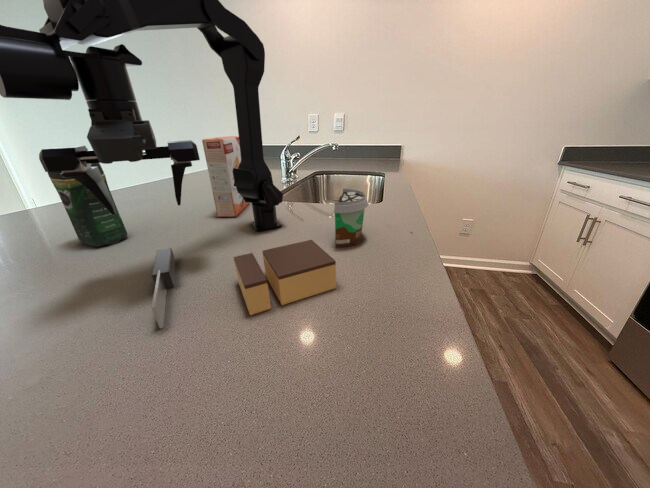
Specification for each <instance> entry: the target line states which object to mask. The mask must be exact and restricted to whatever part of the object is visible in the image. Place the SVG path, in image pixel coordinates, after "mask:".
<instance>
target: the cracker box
mask: <svg viewBox="0 0 650 488" xmlns="http://www.w3.org/2000/svg"><path fill="white" fill-rule="evenodd" d="M201 143H202V147H203V153H204V158H205V162H206V166H207V167H206V168H207V173H208V177H209V182H210V188H211V191H212V196H213V202H214V206H215V212H216V217H217V218H236V217H237V216H239V214H241V212H242V211H244V209H246V208H247V206H248V205H249V204H250V203H248V202H245V201H244V199H243V197H242V196H241V195H240V194H239V193H238V191H237V188H236V187H235V186H234V176H233V168H238V167H239V164H240V162H241V153H240V143H239V135H238V136H236V135H231V136H230V135H229V136H216V137H209V138H201Z"/></svg>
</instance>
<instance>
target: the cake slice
mask: <svg viewBox="0 0 650 488" xmlns="http://www.w3.org/2000/svg"><path fill="white" fill-rule="evenodd" d="M233 261H234V267H235V272H236V276H237V281H238V285H239V288H240V291H241V294H242V296H243V301H244V302H245V305H246V308H247V311H248V313H249V315H250V316H252V315H255V314H259V313H262V312H264V311H268V310H272V306H271V298H270V291H269V285H268V279H267V277H266V274H265V272H264V271H263V270H262V268H261V266H260V264H259V262H258V261H257V258H256V256H255V255H254V253H253V252H249V253H245V254H241V255H237V256H233Z"/></svg>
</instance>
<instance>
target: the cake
mask: <svg viewBox="0 0 650 488" xmlns="http://www.w3.org/2000/svg"><path fill="white" fill-rule="evenodd" d="M261 252H262V259H263V266H264V274H265V277H266V279H267V282H269V284H270V286H271V288H272V290H273V291H274V294H275V295H276V297H277V299H278V301H279V303H280V305H281V306H284V305H288V304H290V303H294V302H297V301H300V300H303V299H306V298H309V297H313V296H316V295H319V294H322V293H325V292H328V291H331V290H334V289H336V288H337V267H336V266H337V265H336V263H337V261H336V259H334V258H333V257H332V256H330V254H328V253H327V252H326V251H325V250H324V249H323V248H322V247H320V245H318V244H317V242H315V241H314V240H313V239H307V240H303V241H300V242H299V241H298V242H295V243H290V244H286V245H281V246H277V247H276V246H275V247H272V248H267V249H264V250H262V251H261Z"/></svg>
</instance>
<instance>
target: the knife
mask: <svg viewBox="0 0 650 488" xmlns="http://www.w3.org/2000/svg"><path fill="white" fill-rule="evenodd" d="M176 261H177V260H176V257H175V255H174V251H173V248H172V247H167V248H162V249H157V250H156V255H155V259H154V264H153V269H152V272H151V277H152V280H153V282H154V283H153V284H154V290H153V296H152V301H151V310H152V312H153V315H154V317H155V319H156V323H157V326H158V328H159V329H160V330H161V329H164V323H165V316H166V315H165V314H166V304H167V296H168V289H171V288H174V287H175V279H176V263H177V262H176Z"/></svg>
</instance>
